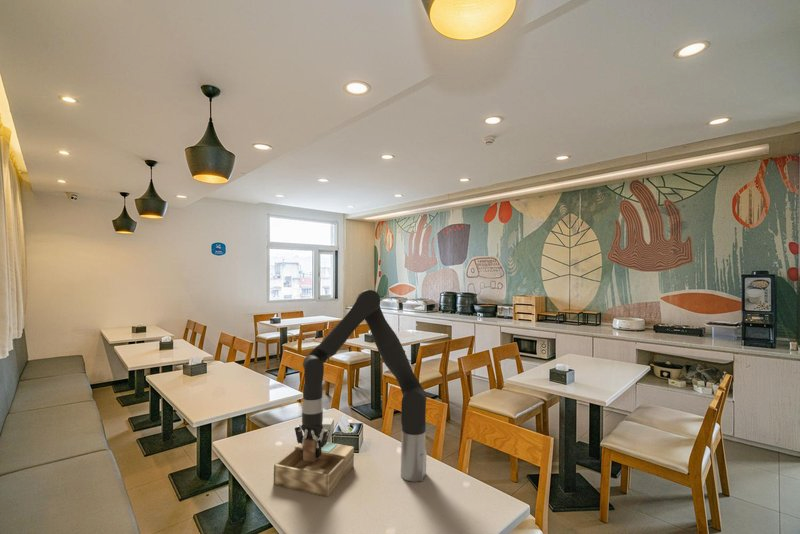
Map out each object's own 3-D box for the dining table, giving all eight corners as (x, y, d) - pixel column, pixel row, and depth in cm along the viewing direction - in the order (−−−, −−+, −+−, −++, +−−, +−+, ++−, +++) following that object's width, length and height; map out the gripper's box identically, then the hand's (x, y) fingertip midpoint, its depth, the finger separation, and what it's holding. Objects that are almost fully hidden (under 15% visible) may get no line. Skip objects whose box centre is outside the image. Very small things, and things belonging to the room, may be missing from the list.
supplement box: (330, 454, 152) (331, 424, 153) (312, 454, 153) (313, 424, 153) (333, 446, 160) (334, 417, 160) (317, 445, 160) (318, 417, 160)
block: (320, 456, 135) (320, 436, 135) (313, 462, 130) (314, 441, 131) (309, 454, 136) (310, 434, 136) (303, 460, 132) (303, 439, 132)
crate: (353, 466, 143) (354, 446, 143) (327, 497, 123) (328, 473, 123) (305, 457, 150) (306, 437, 150) (273, 484, 130) (274, 462, 130)
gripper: (334, 408, 135) (333, 454, 135) (301, 404, 139) (300, 448, 139) (324, 415, 128) (323, 464, 127) (290, 410, 132) (289, 457, 132)
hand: (311, 455), depth 133 cm, fingers closed on block, 4 cm apart
